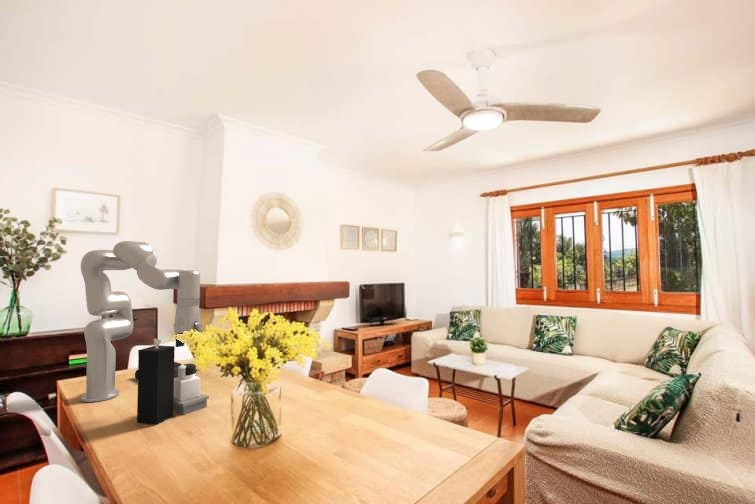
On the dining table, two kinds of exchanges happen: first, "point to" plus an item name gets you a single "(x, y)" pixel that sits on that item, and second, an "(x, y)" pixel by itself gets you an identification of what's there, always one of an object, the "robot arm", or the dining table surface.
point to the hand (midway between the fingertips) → (187, 348)
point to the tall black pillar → (155, 383)
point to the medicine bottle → (186, 383)
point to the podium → (190, 404)
